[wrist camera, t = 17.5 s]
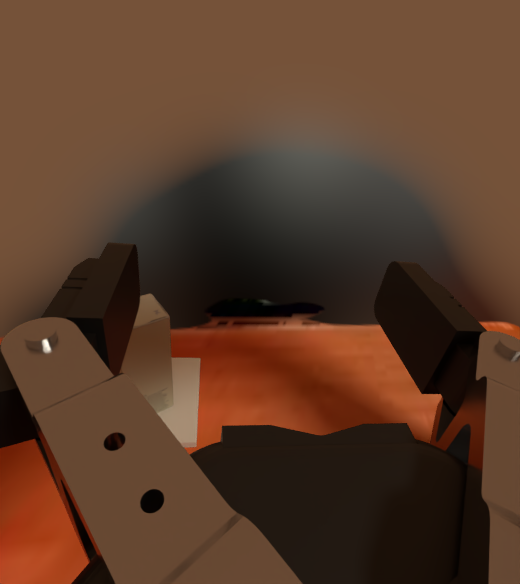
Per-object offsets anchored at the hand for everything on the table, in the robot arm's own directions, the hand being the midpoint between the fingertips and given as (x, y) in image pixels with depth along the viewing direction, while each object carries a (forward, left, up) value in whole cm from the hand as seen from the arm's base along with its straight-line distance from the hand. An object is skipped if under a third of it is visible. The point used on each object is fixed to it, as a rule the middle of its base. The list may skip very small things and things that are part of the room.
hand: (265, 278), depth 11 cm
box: (+8, -17, -27) cm, 33 cm away
